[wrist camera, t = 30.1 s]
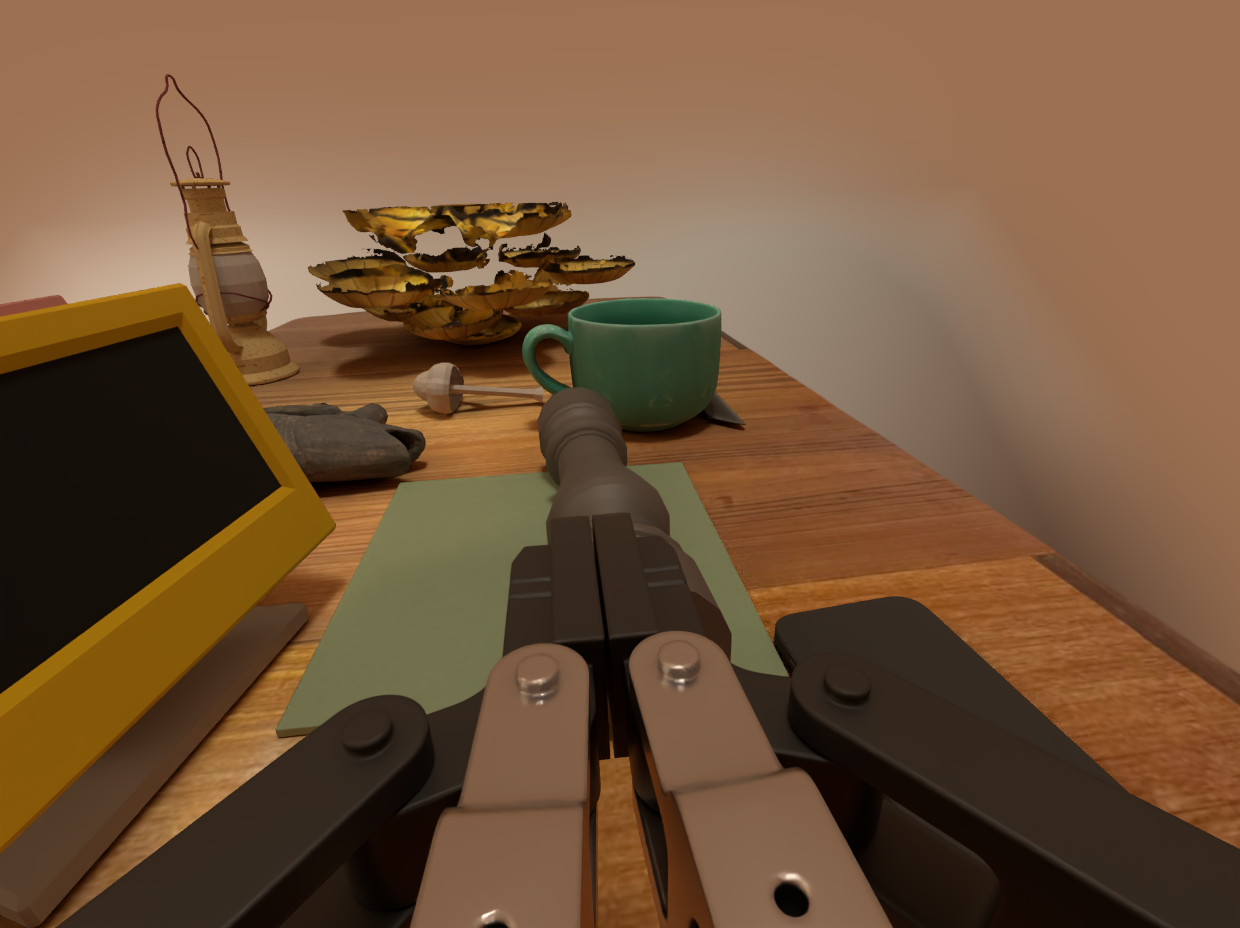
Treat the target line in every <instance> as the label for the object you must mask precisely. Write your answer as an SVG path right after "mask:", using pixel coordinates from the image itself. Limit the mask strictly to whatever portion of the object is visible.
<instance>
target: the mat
mask: <svg viewBox="0 0 1240 928" xmlns="http://www.w3.org/2000/svg"><path fill="white" fill-rule="evenodd" d="M626 467H627V468H629V469H630V470H632V471H633V472H635V473H636V474H637V475H639V476H640V477H642V478H643V479H644V480H645V481H647V482H648V483H649V484H650V485H652V486H653V487H654V488H655V489H656V490H658V492H659V494H660V496H661V498H662V500H663V502H664V504H665V506H666V508H667V511H668V513H669V515H670V537H671V538H672V539H674V540H675V541H676V542H678V543H679V544H680V546H681V548H682V550H683V551H684V552H685V553H686V554H688V555H689V556H690V557H691V558H693V559H694V560H695V562H696V564H697V566H698V568H699V570H700V572H701V574H702V576H703V578H704V580H705V581H706V583H707V585H708V587H709V589H710V591H711V593H712V595H713V597H714V599H715V601H716V603H717V605H718V607H719V609H720V610H721V613H722V615H723V617H724V619H725V621H726V623H727V625H728V627H729V629H730V631H731V633H732V644H731V662H730V663H732V664H734V665H736V666H739V667H741V668H744V669H747V670H750V671H754V672H759V673H765V674H772V675H778V676H785V677H789V674H788V672H787V670H786V669H785V667H784V665H783V663H782V661H781V659H780V657H779V655H778V653H777V651H776V649H775V647H774V645H773V643H772V641H771V639H770V637H769V635H768V633H767V631H766V629H765V627H764V625H763V623H762V621H761V619H760V617H759V615H758V613H757V611H756V609H755V607H754V605H753V603H752V601H751V599H750V597H749V595H748V593H747V591H746V589H745V587H744V585H743V583H742V581H741V579H740V577H739V575H738V573H737V571H736V569H735V567H734V565H733V563H732V561H731V559H730V557H729V555H728V553H727V551H726V549H725V547H724V545H723V543H722V541H721V539H720V537H719V535H718V533H717V531H716V529H715V527H714V525H713V523H712V521H711V519H710V517H709V516H708V514H707V512H706V510H705V508H704V506H703V504H702V502H701V500H700V498H699V496H698V494H697V492H696V490H695V488H694V486H693V484H692V482H691V480H690V478H689V476H688V474H687V472H686V470H685V468H684V466H683V464H682V462H676V463H663V464H649V465H635V466H626ZM558 488H559V486H558V485H557V484H555V483H554V481H553V479H552V478H551V476H550V474H549V472H539V473H526V474H512V475H498V476H485V477H471V478H457V479H444V480H430V481H416V482H403V483H400V484H399V486H398V488H397V490H396V492H395V494H394V496H393V498H392V500H391V502H390V504H389V506H388V508H387V510H386V512H385V514H384V516H383V518H382V520H381V522H380V524H379V526H378V528H377V530H376V532H375V534H374V536H373V538H372V540H371V542H370V544H369V546H368V548H367V550H366V552H365V554H364V556H363V558H362V560H361V562H360V564H359V565H358V567H357V569H356V571H355V573H354V575H353V577H352V579H351V581H350V583H349V585H348V587H347V589H346V591H345V593H344V595H343V597H342V599H341V601H340V603H339V605H338V607H337V609H336V611H335V613H334V615H333V617H332V619H331V621H330V623H329V625H328V627H327V629H326V631H325V633H324V635H323V637H322V639H321V641H320V643H319V645H318V647H317V649H316V651H315V653H314V655H313V657H312V659H311V661H310V663H309V665H308V667H307V669H306V671H305V673H304V675H303V677H302V679H301V681H300V683H299V685H298V687H297V688H296V690H295V692H294V694H293V696H292V698H291V700H290V702H289V704H288V706H287V708H286V710H285V712H284V714H283V716H282V718H281V720H280V722H279V724H278V726H277V728H276V733H277V736H278V737H286V736H295V735H305V734H310V733H311V732H312V731H314V730H315V729H316V728H318V727H319V726H320V725H322V724H323V723H324V722H326V721H327V720H328V719H330V718H331V717H332V716H333V715H335V714H336V713H338V712H339V711H341V710H342V709H344V708H346V707H347V706H349V705H351V704H353V703H355V702H358V701H360V700H363V699H366V698H370V697H373V696H379V695H390V694H391V695H401V696H405V697H409V698H411V699H413V700H415V701H416V702H418V703H419V704H420V705H421V706H422V707H423V709H424V710H425V712H426V715H427V714H429V713H432V712H435V711H438V710H441V709H443V708H446V707H449V706H452V705H455V704H457V703H459V702H462V701H464V700H466V699H468V698H470V697H472V696H473V695H475V694H476V693H478V692H479V691H481V690H482V689H483V688H484V687H485V686H486V683H487V679H488V676H489V673H490V672H491V670H492V668H493V667H494V666H495V665H496V663H497V662H498V661H499V660H501V659H502V654H503V644H504V634H505V624H506V614H507V604H508V594H509V585H510V574H511V564H512V562H513V561H514V559H515V558H516V557H517V555H518V554H519V553H520V552H521V550H522V549H523V548H524V546H536V545H548V542H547V531H546V520H547V518H548V515H549V512H550V509H551V506H552V504H553V501H554V498H555V496H556V493H557V491H558Z"/></svg>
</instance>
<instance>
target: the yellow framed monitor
mask: <svg viewBox="0 0 1240 928" xmlns="http://www.w3.org/2000/svg"><path fill="white" fill-rule="evenodd" d="M335 527H336V524H335V522H334V520H333V519H332V517H331V516H330V514H329V512H328V511H327V509H326V508H325V506H324V505H323V503H322V501H321V500H320V498H319V497H318V495H317V493H316V492H315V490H314V489H313V487H312V485H311V484H310V482H309V481H308V479H307V477H306V476H305V474H304V473H303V471H302V470H301V468H300V466H299V465H298V463H297V462H296V460H295V458H294V457H293V455H292V454H291V452H290V450H289V449H288V447H287V446H286V444H285V442H284V441H283V439H282V438H281V436H280V435H279V433H278V431H277V430H276V428H275V427H274V425H273V423H272V422H271V420H270V419H269V417H268V415H267V414H266V412H265V411H264V409H263V407H262V406H261V404H260V403H259V401H258V400H257V398H256V396H255V395H254V393H253V392H252V390H251V388H250V387H249V385H248V384H247V382H246V380H245V379H244V377H243V376H242V374H241V372H240V371H239V369H238V368H237V366H236V365H235V363H234V361H233V360H232V358H231V357H230V355H229V353H228V352H227V350H226V349H225V347H224V345H223V344H222V342H221V341H220V339H219V337H218V336H217V334H216V333H215V331H214V330H213V328H212V326H211V325H210V323H209V322H208V320H207V318H206V317H205V315H204V314H203V312H202V310H201V309H200V307H199V306H198V304H197V302H196V301H195V299H194V298H193V296H192V295H191V293H190V291H189V290H188V288H187V287H186V286H185V285H183V284H181V283H178V284H173V285H167V286H162V287H157V288H151V289H146V290H140V291H136V292H130V293H124V294H119V295H114V296H108V297H103V298H98V299H92V300H87V301H82V302H76V303H71V304H67V303H66V301H65V300H64V299H63V298H62V297H61V296H60V295H55V296H48V297H42V298H36V299H30V300H24V301H18V302H12V303H6V304H0V915H1V916H3V917H5V918H7V919H9V920H11V921H13V922H16V923H18V924H20V925H22V926H24V927H26V928H33V927H36V926H39V925H40V924H41V923H42V922H43V921H44V920H45V919H46V918H47V916H48V915H49V914H50V913H51V912H52V911H53V910H54V908H55V907H56V906H57V905H58V904H59V903H60V902H61V901H62V899H63V898H64V897H65V896H66V895H67V894H68V893H69V891H70V890H71V889H72V888H73V887H74V886H75V885H76V883H77V882H78V881H79V880H80V879H81V878H82V877H83V875H84V874H85V873H86V872H87V871H88V870H89V869H90V867H91V866H92V865H93V864H94V863H95V862H96V861H97V859H98V858H99V857H100V856H101V855H102V854H103V853H104V851H105V850H106V849H107V848H108V847H109V846H110V845H111V843H112V842H113V841H114V840H115V839H116V838H117V837H118V835H119V834H120V833H121V832H122V831H123V830H124V829H125V827H126V826H127V825H128V824H129V823H130V822H131V821H132V819H133V818H134V817H135V816H136V815H137V814H138V813H139V811H140V810H141V809H142V808H143V807H144V806H145V805H146V803H147V802H148V801H149V800H150V799H151V798H152V797H153V796H154V794H155V793H156V792H157V791H158V790H159V789H160V788H161V786H162V785H163V784H164V783H165V782H166V781H167V780H168V778H169V777H170V776H171V775H172V774H173V773H174V772H175V770H176V769H177V768H178V767H179V766H180V765H181V764H182V762H183V761H184V760H185V759H186V758H187V757H188V756H189V754H190V753H191V752H192V751H193V750H194V749H195V748H196V746H197V745H198V744H199V743H200V742H201V741H202V740H203V738H204V737H205V736H206V735H207V734H208V733H209V732H210V730H211V729H212V728H213V727H214V726H215V725H216V724H217V722H218V721H219V720H220V719H221V718H222V717H223V716H224V714H225V713H226V712H227V711H228V710H229V709H230V708H231V706H232V705H233V704H234V703H235V702H236V701H237V700H238V699H239V697H240V696H241V695H242V694H243V693H244V692H245V691H246V689H247V688H248V687H249V686H250V685H251V684H252V683H253V681H254V680H255V679H256V678H257V677H258V676H259V675H260V673H261V672H262V671H263V670H264V669H265V668H266V667H267V665H268V664H269V663H270V662H271V661H272V660H273V659H274V657H275V656H276V655H277V654H278V653H279V652H280V651H281V649H282V648H283V647H284V646H285V645H286V644H287V643H288V641H289V640H290V639H291V638H292V637H293V636H294V635H295V633H296V632H297V631H298V630H299V629H300V628H301V627H302V625H303V624H304V623H305V622H306V621H307V620H308V619H309V616H308V613H307V609H306V606H305V604H304V603H290V604H280V605H269V606H258V607H255V606H256V605H257V604H258V603H259V602H260V601H261V600H262V599H263V598H264V597H266V596H267V595H268V594H269V593H270V592H271V591H272V590H273V589H274V588H275V587H276V586H277V585H278V584H279V583H280V582H281V581H282V580H283V579H284V578H285V577H286V576H287V575H288V574H289V573H290V572H291V571H292V570H293V569H294V568H295V567H296V566H297V565H298V564H299V563H300V562H302V561H303V560H304V559H305V558H306V557H307V556H308V555H309V554H310V553H311V552H312V551H313V550H314V549H315V548H316V547H317V546H318V545H319V544H320V543H321V542H322V541H323V540H324V539H325V538H326V537H327V536H328V535H329V534H330V533H331V532H332V531H333V530H334V529H335Z"/></svg>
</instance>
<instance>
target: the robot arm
mask: <svg viewBox="0 0 1240 928" xmlns="http://www.w3.org/2000/svg"><path fill="white" fill-rule="evenodd" d="M592 533H593V544H592V536H591V528H590V520H589V515H588V516H575V517H562V518H551V544H549V545H536V546H524V548H523V549H522V550H521V552H520V553H519V554H518V555H517V557H516V558H515V559H514V561H513V562H512V564H511V574H510V585H509V594H508V604H507V614H506V624H505V634H504V644H503V654H502V659H501V660H499V661H498V662H497V663H496V665H495V666H494V667H493V668H492V670H491V672H490V673H489V676H488V679H487V683H486V686H485V687H484V688H483V689H482V690H481V691H479V692H478V693H476V694H475V695H473V696H472V697H470V698H468V699H466V700H464V701H462V702H459V703H457V704H455V705H452V706H449V707H446V708H443V709H441V710H438V711H435V712H432V713H429V714H427V715H426V712H425V710H424V709H423V707H422V706H421V705H420V704H419V703H418V702H416V701H415V700H413V699H411V698H409V697H405V696H401V695H391V694H390V695H379V696H373V697H370V698H366V699H363V700H360V701H358V702H355V703H353V704H351V705H349V706H347V707H346V708H344V709H342V710H341V711H339V712H338V713H336V714H335V715H333V716H332V717H331V718H330V719H328V720H327V721H326V722H324V723H323V724H322V725H320V726H319V727H318V728H316V729H315V730H314V731H312V732H311V733H310V734H309V735H307V736H306V737H305V738H303V739H302V740H301V741H299V742H298V743H297V744H295V745H294V746H293V747H292V748H290V749H289V750H288V751H286V752H285V753H284V754H282V755H281V756H280V757H278V758H277V759H276V760H274V761H273V762H272V763H271V764H269V765H268V766H267V767H265V768H264V769H263V770H261V771H260V772H259V773H257V774H256V775H255V776H254V777H252V778H251V779H250V780H248V781H247V782H246V783H244V784H243V785H242V786H240V787H239V788H238V789H236V790H235V791H234V792H233V793H231V794H230V795H229V796H227V797H226V798H225V799H223V800H222V801H221V802H219V803H218V804H217V805H216V806H214V807H213V808H212V809H210V810H209V811H208V812H206V813H205V814H204V815H202V816H201V817H200V818H198V819H197V820H196V821H195V822H193V823H192V824H191V825H189V826H188V827H187V828H185V829H184V830H183V831H181V832H180V833H179V834H178V835H176V836H175V837H174V838H172V839H171V840H170V841H168V842H167V843H166V844H164V845H163V846H162V847H160V848H159V849H158V850H157V851H155V852H154V853H153V854H151V855H150V856H149V857H147V858H146V859H145V860H143V861H142V862H141V863H140V864H138V865H137V866H136V867H134V868H133V869H132V870H130V871H129V872H128V873H126V874H125V875H124V876H122V877H121V878H120V879H119V880H117V881H116V882H115V883H113V884H112V885H111V886H109V887H108V888H107V889H105V890H104V891H103V892H102V893H100V894H99V895H98V896H96V897H95V898H94V899H92V900H91V901H90V902H88V903H87V904H86V905H84V906H83V907H82V908H81V909H79V910H78V911H77V912H75V913H74V914H73V915H71V916H70V917H69V918H67V919H66V920H65V921H64V922H62V923H61V924H60V925H58V926H57V927H56V928H598V809H597V802H598V800H599V796H600V790H601V783H600V766H599V760H605V759H610V743H609V722H608V707H609V715H610V724H611V732H612V741H613V749H614V758H621V757H629V759H630V766H631V773H632V791H633V807H634V812H635V817H636V821H637V826H638V830H639V835H640V839H641V844H642V848H643V853H644V857H645V862H646V866H647V871H648V875H649V880H650V884H651V889H652V893H653V898H654V902H655V907H656V911H657V916H658V920H659V925H660V928H1240V849H1238V848H1236V847H1234V846H1232V845H1230V844H1229V843H1227V842H1225V841H1223V840H1221V839H1219V838H1217V837H1215V836H1213V835H1211V834H1209V833H1207V832H1205V831H1203V830H1201V829H1199V828H1197V827H1195V826H1193V825H1191V824H1189V823H1187V822H1185V821H1183V820H1181V819H1179V818H1177V817H1175V816H1173V815H1171V814H1169V813H1167V812H1165V811H1163V810H1161V809H1159V808H1158V807H1156V806H1154V805H1152V804H1150V803H1148V802H1146V801H1144V800H1142V799H1140V798H1138V797H1136V796H1134V795H1132V794H1130V793H1128V792H1126V791H1124V790H1122V789H1120V788H1118V787H1116V786H1114V785H1112V784H1110V783H1108V782H1106V781H1104V780H1102V779H1100V778H1098V777H1096V776H1094V775H1092V774H1090V773H1088V772H1086V771H1085V770H1083V769H1081V768H1079V767H1077V766H1075V765H1073V764H1071V763H1069V762H1067V761H1065V760H1063V759H1061V758H1059V757H1057V756H1055V755H1053V754H1051V753H1049V752H1047V751H1045V750H1043V749H1041V748H1039V747H1037V746H1035V745H1033V744H1031V743H1029V742H1027V741H1025V740H1023V739H1021V738H1019V737H1017V736H1015V735H1014V734H1012V733H1010V732H1008V731H1006V730H1004V729H1002V728H1000V727H998V726H996V725H994V724H992V723H990V722H988V721H986V720H984V719H982V718H980V717H978V716H976V715H974V714H972V713H970V712H968V711H966V710H964V709H962V708H960V707H958V706H956V705H954V704H952V703H950V702H948V701H946V700H944V699H942V698H941V697H939V696H937V695H935V694H933V693H931V692H929V691H927V690H925V689H923V688H921V687H919V686H917V685H915V684H913V683H911V682H909V681H907V680H905V679H903V678H901V677H899V676H897V675H895V674H893V673H891V672H889V671H887V670H885V669H883V668H881V667H879V666H877V665H875V664H873V663H871V662H869V661H867V660H865V659H863V658H860V657H857V656H854V655H850V654H845V653H837V652H825V653H818V654H814V655H811V656H809V657H807V658H805V659H803V660H802V661H800V662H799V663H798V664H797V666H796V667H795V668H794V670H793V673H792V677H785V676H778V675H772V674H765V673H759V672H754V671H750V670H747V669H744V668H741V667H739V666H736V665H734V664H732V663H730V662H729V660H728V658H727V656H726V655H725V653H724V652H723V650H722V649H721V648H720V647H719V646H718V645H717V644H715V643H714V642H713V641H711V640H709V639H708V638H707V636H706V634H705V631H704V628H703V625H702V622H701V620H700V617H699V614H698V611H697V608H696V606H695V603H694V600H693V597H692V594H691V592H690V589H689V586H688V584H687V581H686V578H685V575H684V572H683V570H682V568H681V564H680V561H679V558H678V555H677V553H676V550H675V549H674V548H673V547H672V546H671V545H670V544H669V543H667V542H666V541H665V540H664V539H663V538H662V537H660V536H646V537H636V534H635V530H634V527H633V523H632V519H631V515H630V512H625V513H612V514H599V515H592ZM593 551H594V552H593ZM607 698H608V701H607ZM884 795H886V796H888V797H889V798H891V799H892V800H894V801H895V802H897V803H899V804H900V805H902V806H903V807H905V808H906V809H908V810H909V811H911V812H912V813H914V814H916V815H917V816H919V817H920V818H922V819H923V820H925V821H926V822H928V823H929V824H931V825H933V826H934V827H936V828H937V829H939V830H940V831H942V832H943V833H945V834H947V835H948V836H950V837H951V838H953V839H954V840H956V841H957V842H959V843H960V844H962V845H964V846H965V847H967V848H968V849H970V850H971V851H973V852H974V853H975V854H977V855H978V856H979V857H980V858H981V859H983V860H984V861H985V862H986V863H987V864H988V865H989V866H987V865H985V864H984V863H982V862H980V861H979V860H977V859H976V858H974V857H972V856H971V855H969V854H968V853H966V852H965V851H963V850H962V849H960V848H959V847H957V846H956V845H954V844H952V843H951V842H949V841H948V840H946V839H945V838H943V837H942V836H940V835H939V834H937V833H936V832H934V831H933V830H931V829H929V828H928V827H926V826H925V825H923V824H922V823H920V822H919V821H917V820H916V819H914V818H913V817H911V816H909V815H908V814H906V813H905V812H903V811H902V810H900V809H899V808H897V807H896V806H894V805H893V804H891V803H890V802H888V801H886V800H885V799H884Z"/></svg>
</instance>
